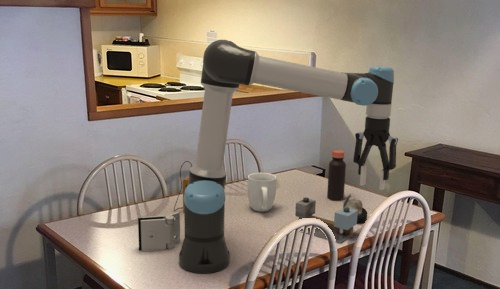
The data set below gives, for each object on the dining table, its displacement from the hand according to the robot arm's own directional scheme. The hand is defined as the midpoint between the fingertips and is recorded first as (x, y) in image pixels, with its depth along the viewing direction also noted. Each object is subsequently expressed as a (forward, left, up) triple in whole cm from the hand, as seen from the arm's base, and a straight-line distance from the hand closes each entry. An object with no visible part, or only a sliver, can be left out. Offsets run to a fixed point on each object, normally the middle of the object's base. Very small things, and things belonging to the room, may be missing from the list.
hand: (372, 186), depth 161 cm
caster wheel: (+16, +13, -19) cm, 28 cm away
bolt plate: (-5, +16, -19) cm, 25 cm away
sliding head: (0, +9, -18) cm, 19 cm away
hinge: (-47, +49, -19) cm, 71 cm away
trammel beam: (0, +16, -19) cm, 25 cm away
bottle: (+31, +29, -19) cm, 47 cm away
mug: (0, +44, -19) cm, 48 cm away
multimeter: (-16, +64, -19) cm, 69 cm away
